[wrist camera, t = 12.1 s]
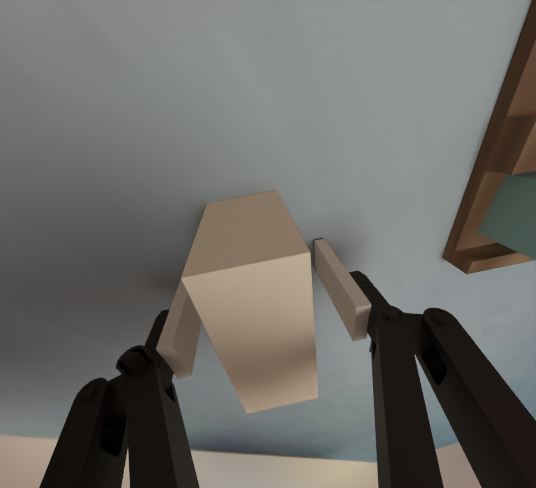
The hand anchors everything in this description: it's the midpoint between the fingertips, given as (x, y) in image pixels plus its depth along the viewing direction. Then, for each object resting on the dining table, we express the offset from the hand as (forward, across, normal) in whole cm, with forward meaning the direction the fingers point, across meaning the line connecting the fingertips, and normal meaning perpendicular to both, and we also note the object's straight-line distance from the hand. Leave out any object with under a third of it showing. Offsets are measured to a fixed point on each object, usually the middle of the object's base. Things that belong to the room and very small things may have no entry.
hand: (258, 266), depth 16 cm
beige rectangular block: (0, 0, 0) cm, 0 cm away
